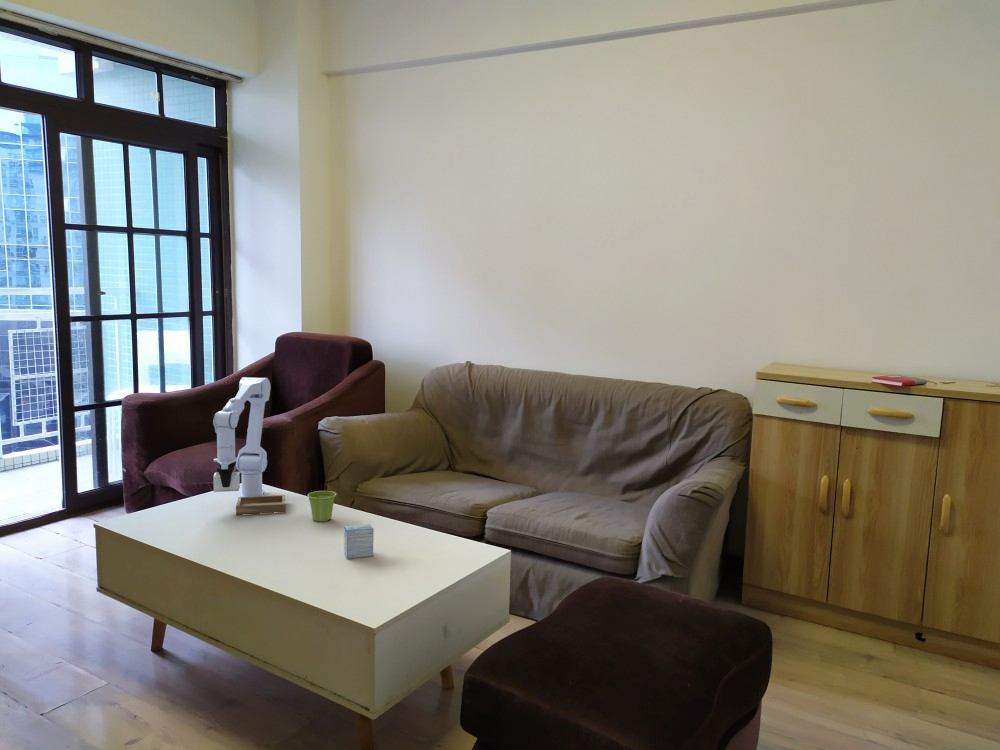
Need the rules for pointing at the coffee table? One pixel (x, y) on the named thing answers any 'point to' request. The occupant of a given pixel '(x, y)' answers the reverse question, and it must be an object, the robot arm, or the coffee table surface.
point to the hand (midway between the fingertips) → (226, 484)
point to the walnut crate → (260, 504)
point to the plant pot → (321, 504)
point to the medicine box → (358, 541)
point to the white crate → (233, 484)
